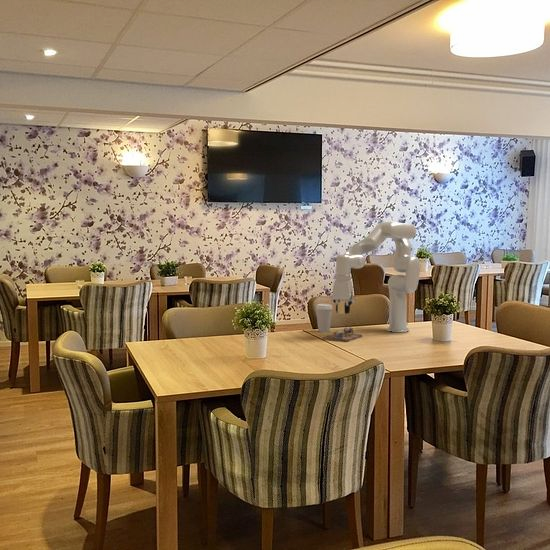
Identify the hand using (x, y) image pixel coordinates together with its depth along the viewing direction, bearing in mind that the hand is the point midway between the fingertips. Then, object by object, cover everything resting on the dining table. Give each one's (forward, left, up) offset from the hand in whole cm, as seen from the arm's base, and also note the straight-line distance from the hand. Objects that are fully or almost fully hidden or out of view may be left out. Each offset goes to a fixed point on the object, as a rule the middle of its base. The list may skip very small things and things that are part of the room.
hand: (342, 312), depth 328 cm
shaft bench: (0, 0, -14) cm, 14 cm away
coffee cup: (-12, -18, -14) cm, 26 cm away
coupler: (0, 0, 0) cm, 0 cm away
